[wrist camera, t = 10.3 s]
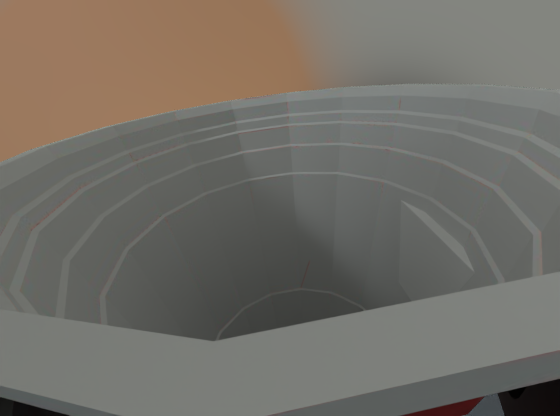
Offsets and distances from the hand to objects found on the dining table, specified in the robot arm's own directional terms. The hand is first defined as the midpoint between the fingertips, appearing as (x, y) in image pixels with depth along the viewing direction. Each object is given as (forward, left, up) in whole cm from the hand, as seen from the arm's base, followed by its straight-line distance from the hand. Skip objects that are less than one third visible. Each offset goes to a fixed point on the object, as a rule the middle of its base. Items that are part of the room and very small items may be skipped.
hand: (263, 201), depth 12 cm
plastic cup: (+3, -4, -7) cm, 9 cm away
